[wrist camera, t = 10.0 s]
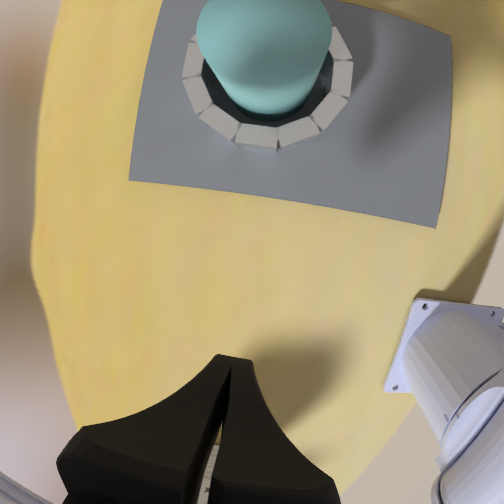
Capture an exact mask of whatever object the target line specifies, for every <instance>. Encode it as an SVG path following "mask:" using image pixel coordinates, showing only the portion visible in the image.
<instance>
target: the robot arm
mask: <svg viewBox="0 0 504 504" xmlns="http://www.w3.org/2000/svg"><path fill="white" fill-rule="evenodd" d="M425 303H426V306H425V307H424V308H422V306H423V304H425ZM492 311H493V312H492ZM491 312H492V314H491ZM503 317H504V309H502V308H500V307H492V306H483V305H475V304H466V303H458V302H450V301H442V300H434V299H426V298H416V299H415V300H414V301H413V302H412V305H411V308H410V312H409V315H408V318H407V321H406V324H405V327H404V330H403V333H402V336H401V339H400V342H399V345H398V348H397V351H396V353H395V356H394V359H393V362H392V364H391V367H390V369H389V372H388V375H387V377H386V380H385V382H384V385H383V388H384V391H385V392H397V393H413V394H414V396H415V398H416V400H417V402H418V404H419V405H420V407H421V409H422V411H423V413H424V415H425V417H426V419H427V421H428V422H429V424H430V426H431V428H432V430H433V432H434V434H435V436H436V438H437V440H438V442H439V444H440V446H441V448H442V451H441V453H440V455H439V456H438V457H437V459H436V462H437V464H438V466H439V469H440V471H441V474H440V475H439V476H438V477H437V478H436V480H435V481H434V483H433V486H432V488H431V502H432V504H504V323H503V322H502V320H503ZM395 385H397V386H396V387H394V386H395ZM393 387H394V388H393ZM222 421H223V422H222ZM221 424H222V432H221V441H220V445H219V449H218V453H217V457H216V461H215V464H214V468H213V472H212V475H211V482H210V488H209V495H208V501H207V504H341V501H340V497H339V494H338V491H337V488H336V485H335V482H334V480H333V479H332V478H331V477H330V476H328V475H327V474H326V473H324V472H323V471H322V470H320V469H319V468H318V467H316V466H315V465H314V464H312V463H311V462H310V461H309V460H308V459H307V458H306V457H305V456H304V455H302V454H301V452H300V451H299V450H298V449H297V448H296V447H295V446H294V445H293V444H292V442H291V441H290V440H289V439H288V438H287V436H286V435H285V434H284V432H283V431H282V430H281V428H280V427H279V425H278V424H277V422H276V421H275V419H274V417H273V416H272V414H271V412H270V410H269V408H268V406H267V404H266V402H265V400H264V398H263V396H262V393H261V391H260V388H259V385H258V382H257V379H256V376H255V372H254V366H253V362H252V361H251V360H247V359H242V358H236V357H231V356H226V355H221V354H217V355H215V356H214V357H213V359H212V360H211V361H210V362H209V363H208V364H207V365H206V367H205V368H204V369H203V370H202V371H201V372H199V373H198V374H197V375H196V376H195V377H194V378H193V379H192V380H191V381H189V382H188V383H187V384H186V385H184V386H183V387H182V388H180V389H179V390H178V391H176V392H175V393H173V394H172V395H170V396H169V397H167V398H166V399H164V400H162V401H161V402H159V403H157V404H155V405H153V406H151V407H149V408H147V409H145V410H143V411H140V412H138V413H136V414H133V415H130V416H127V417H124V418H121V419H117V420H114V421H110V422H105V423H100V424H95V425H89V426H83V427H82V428H81V429H80V430H79V431H78V432H77V433H76V434H75V435H74V436H73V437H72V439H71V440H70V441H69V442H68V444H67V445H66V446H65V448H64V449H63V451H62V452H61V454H60V455H59V456H58V458H57V461H56V465H57V469H58V472H59V474H60V476H61V479H62V481H63V483H64V485H65V488H66V490H67V492H68V495H67V497H66V498H65V500H64V502H63V504H197V502H198V498H199V494H200V489H201V485H202V481H203V477H204V473H205V469H206V466H207V463H208V460H209V458H210V455H211V452H212V449H213V446H214V444H215V441H216V438H217V435H218V432H219V430H220V427H221ZM0 504H53V503H51V502H49V501H48V500H46V499H44V498H42V497H40V496H38V495H37V494H35V493H33V492H32V491H30V490H28V489H27V488H25V487H23V486H22V485H20V484H18V483H17V482H15V481H14V480H12V479H11V478H9V477H8V476H6V475H5V474H3V473H2V472H0Z"/></svg>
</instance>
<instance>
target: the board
mask: <svg viewBox="0 0 504 504" xmlns="http://www.w3.org/2000/svg"><path fill="white" fill-rule="evenodd" d="M208 1H209V0H163V2H162V5H161V9H160V12H159V16H158V20H157V23H156V27H155V31H154V35H153V39H152V43H151V47H150V52H149V56H148V61H147V65H146V70H145V75H144V80H143V85H142V90H141V96H140V101H139V107H138V113H137V119H136V126H135V132H134V139H133V147H132V154H131V163H130V172H129V181H140V182H150V183H160V184H169V185H178V186H187V187H195V188H203V189H211V190H219V191H226V192H234V193H241V194H248V195H255V196H262V197H269V198H275V199H282V200H288V201H294V202H301V203H307V204H313V205H318V206H324V207H330V208H336V209H341V210H347V211H352V212H358V213H363V214H368V215H373V216H378V217H383V218H388V219H393V220H398V221H403V222H408V223H412V224H417V225H422V226H426V227H431V228H435V229H436V225H437V220H438V215H439V210H440V204H441V198H442V192H443V185H444V178H445V171H446V163H447V155H448V145H449V134H450V120H451V102H452V45H451V36H449V35H446V34H444V33H442V32H439V31H437V30H434V29H432V28H429V27H426V26H424V25H421V24H418V23H415V22H413V21H410V20H407V19H404V18H401V17H398V16H394V15H391V14H388V13H384V12H381V11H377V10H374V9H370V8H366V7H362V6H358V5H354V4H350V3H345V2H341V1H336V0H320V1H321V2H322V4H323V5H324V7H325V8H326V10H327V12H328V14H329V17H330V20H331V22H332V27H335V26H336V28H337V30H338V31H339V33H340V35H341V37H342V39H343V41H344V42H345V44H346V46H347V48H348V50H349V52H350V54H351V56H352V59H351V61H350V62H353V72H352V82H351V92H350V98H349V99H348V100H347V101H348V102H347V103H346V105H345V106H344V107H343V108H342V110H341V111H340V112H339V113H338V114H337V116H336V117H335V118H334V119H333V120H332V122H331V123H330V124H329V125H328V126H327V128H326V129H325V130H324V131H323V132H322V133H321V134H320V135H319V136H318V137H317V138H315V139H314V140H312V141H310V142H307V143H304V144H301V145H299V146H296V147H293V148H290V149H288V150H285V151H282V152H281V151H280V149H279V147H278V145H277V152H269V151H262V150H254V149H247V148H241V147H240V146H237V145H235V144H234V143H233V142H231V141H230V140H229V139H227V138H226V137H225V136H223V135H222V134H221V133H219V132H218V131H216V130H215V129H214V128H212V127H211V126H209V125H208V124H207V123H205V122H204V121H203V120H201V119H200V118H199V116H198V115H196V114H195V111H194V109H193V106H192V104H191V101H190V99H189V97H188V94H187V92H186V89H185V87H184V84H183V82H182V81H183V80H185V79H184V78H182V73H183V68H184V63H185V58H186V53H187V48H188V43H193V42H192V40H191V38H192V37H193V36H194V35H195V34H196V28H197V22H198V19H199V15H200V13H201V11H202V9H203V8H204V6H205V5H206V3H207V2H208ZM324 86H325V75H324V73H323V71H322V69H320V71H319V74H318V76H317V79H316V81H315V83H314V86H313V88H312V91H311V93H310V96H309V98H308V100H307V102H306V104H305V105H304V106H303V108H302V109H301V110H300V111H299V112H297V113H296V114H295V115H293V116H291V117H289V118H287V119H285V120H281V121H276V122H263V121H258V120H255V119H252V118H250V117H248V116H246V115H244V114H243V113H242V112H241V111H239V110H238V109H237V108H236V106H235V105H234V104H233V102H232V101H231V99H230V97H229V96H228V94H227V93H226V91H225V89H224V88H223V86H222V85H221V83H220V81H219V80H218V78H217V77H216V75H215V79H214V84H213V92H214V95H215V97H216V99H217V102H218V104H219V106H220V109H221V110H223V111H224V112H226V113H227V114H228V115H230V116H231V117H233V118H234V119H235V120H237V121H238V122H240V123H243V124H252V125H260V126H267V127H274V128H277V127H280V126H283V125H285V124H288V123H291V122H294V121H296V120H299V119H302V118H305V117H308V116H310V115H311V114H312V113H313V111H314V110H315V109H316V108H317V107H318V105H319V104H320V103H321V102H322V101H323V95H324Z"/></svg>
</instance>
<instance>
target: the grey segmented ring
mask: <svg viewBox="0 0 504 504" xmlns="http://www.w3.org/2000/svg"><path fill="white" fill-rule="evenodd" d="M331 24H332V22H331ZM191 40H192V42H193V43H188V48H187V53H186V58H185V63H184V68H183V73H182V78H184V79H185V80H183V81H182V82H183V84H184V87H185V89H186V92H187V94H188V97H189V99H190V101H191V104H192V106H193V109H194V111H195V114H196V115H198V116H199V118H200V119H201V120H203V121H204V122H205V123H207V124H208V125H209V126H211V127H212V128H214V129H215V130H216V131H218V132H219V133H221V134H222V135H223V136H225V137H226V138H227V139H229V140H230V141H231V142H233V143H234V144H235V145H237V146H240V147H241V148H247V149H254V150H262V151H269V152H277V145H278V147H279V149H280V151H281V152H282V151H285V150H288V149H290V148H293V147H296V146H299V145H301V144H304V143H307V142H310V141H312V140H314V139H315V138H317V137H318V136H319V135H320V134H321V133H322V132H323V131H324V130H325V129H326V128H327V126H328V125H329V124H330V123H331V122H332V120H333V119H334V118H335V117H336V116H337V114H338V113H339V112H340V111H341V110H342V108H343V107H344V106H345V105H346V103H347V102H348V101H347V100H348V99H349V98H350V92H351V82H352V72H353V62H350V61H351V59H352V56H351V54H350V52H349V50H348V48H347V46H346V44H345V42H344V41H343V39H342V37H341V35H340V33H339V31H338V30H337V28H336V26H335V27H332V39H331V44H330V47H329V49H328V52H327V54H326V57H325V59H324V62H323V64H322V66H321V69H322V71H323V73H324V75H325V86H324V95H323V101H322V102H321V103H320V104H319V105H318V107H317V108H316V109H315V110H314V111H313V113H312V114H311V115H310V116H308V117H305V118H302V119H299V120H296V121H294V122H291V123H288V124H285V125H283V126H280V127H277V128H274V127H267V126H260V125H252V124H243V123H240V122H238V121H237V120H235V119H234V118H233V117H231V116H230V115H228V114H227V113H226V112H224V111H223V110H221V109H220V106H219V104H218V102H217V99H216V97H215V95H214V92H213V84H214V79H215V73H214V72H213V70H212V69H211V67H210V66H209V64H208V63H207V61H206V59H205V58H204V56H203V55H202V53H201V51H200V49H199V46H198V43H197V37H196V34H195V35H194V36H193V37H192V38H191Z"/></svg>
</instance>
